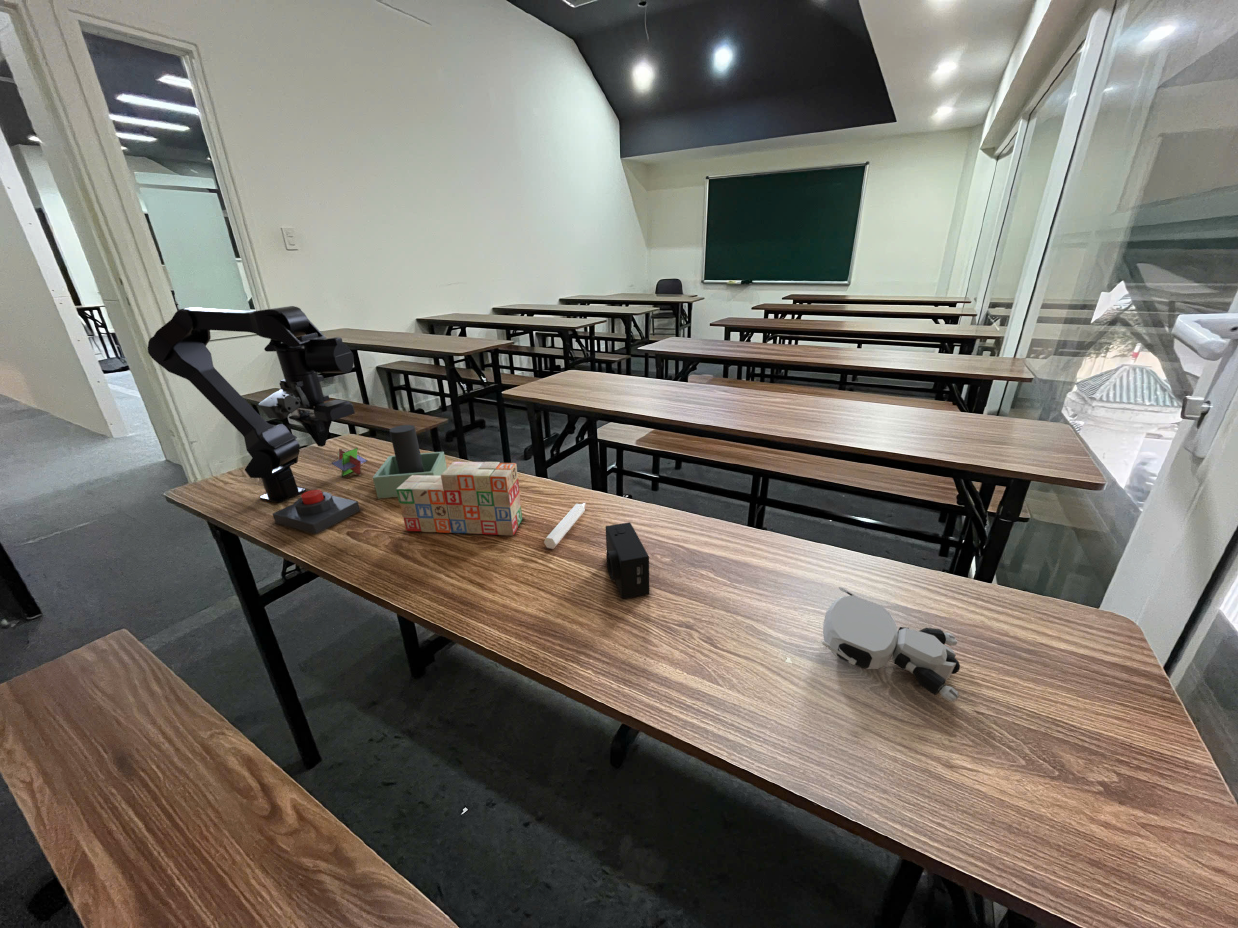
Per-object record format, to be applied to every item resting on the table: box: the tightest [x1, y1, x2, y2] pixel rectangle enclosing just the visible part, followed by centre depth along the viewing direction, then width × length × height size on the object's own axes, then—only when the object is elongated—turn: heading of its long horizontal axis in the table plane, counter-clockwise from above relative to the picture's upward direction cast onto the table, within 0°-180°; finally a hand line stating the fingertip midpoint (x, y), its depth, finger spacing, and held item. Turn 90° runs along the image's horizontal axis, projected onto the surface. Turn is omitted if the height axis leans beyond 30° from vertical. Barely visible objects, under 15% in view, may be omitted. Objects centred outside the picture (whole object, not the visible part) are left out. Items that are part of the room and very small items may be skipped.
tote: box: [372, 451, 448, 499], centre depth 110 cm, size 13×13×5 cm
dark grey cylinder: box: [388, 424, 424, 474], centre depth 108 cm, size 5×5×13 cm
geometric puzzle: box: [330, 447, 369, 477], centre depth 116 cm, size 7×7×8 cm
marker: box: [543, 502, 586, 550], centre depth 91 cm, size 3×2×16 cm
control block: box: [272, 491, 361, 535], centre depth 97 cm, size 12×10×4 cm
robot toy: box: [821, 586, 961, 703], centre depth 60 cm, size 12×4×15 cm
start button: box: [300, 489, 324, 505], centre depth 96 cm, size 4×4×2 cm
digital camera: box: [604, 522, 650, 600], centre depth 75 cm, size 10×5×7 cm, turn 14°
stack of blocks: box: [396, 461, 523, 536], centre depth 91 cm, size 21×6×12 cm, turn 84°
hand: (321, 445), depth 102 cm, fingers closed
